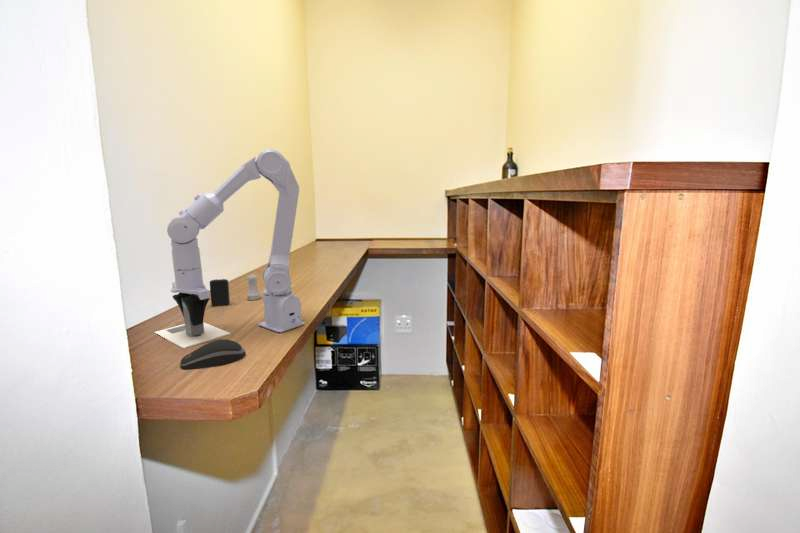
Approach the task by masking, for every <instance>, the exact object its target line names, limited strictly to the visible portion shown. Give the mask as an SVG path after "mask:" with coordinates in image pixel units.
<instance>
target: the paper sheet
mask: <svg viewBox="0 0 800 533" xmlns="http://www.w3.org/2000/svg"><path fill="white" fill-rule="evenodd" d="M203 324H204V333H202V334H199V335H195V336H190V335H188V334H186V329H185V323H183V324H179V325H176V326H172V327H167V328H165V329H161V330H157V331H153V333H154V334H155V333H156V334H155V335H157V334H158V335H160V336H161V337H160V336H159V337H160V338H162V337H163V338H162V339H164V338H165V339H164V340H166V341H168V342H170V343H172V344H174V345H175V346H178V347H179V348H181V349H184V350H185V349H188V348H191V347H195V346H197V345H201V344H203V343H208V342H210V341H215V340H218V339H219V338H222V337H226V336H230V335H231V333H230V332H229V331H227V330H224V329H222V328H219V327H216V326H213V325H211V324H209V323H206V322H204V321H203ZM158 335H157V336H158Z"/></svg>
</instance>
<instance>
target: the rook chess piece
mask: <svg viewBox="0 0 800 533" xmlns="http://www.w3.org/2000/svg"><path fill="white" fill-rule="evenodd" d="M246 279H247V280H248V281H247V284H248V291H247V293H246V296H247V297H246V299H247V300H248V301H257V300H261V297H262V296H261V292H260V290H259V289H258V288H259V287H258V285H257V284H258V281H257V279H258V276H257V274H256V273H251V274H248V275H247V277H246Z"/></svg>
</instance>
